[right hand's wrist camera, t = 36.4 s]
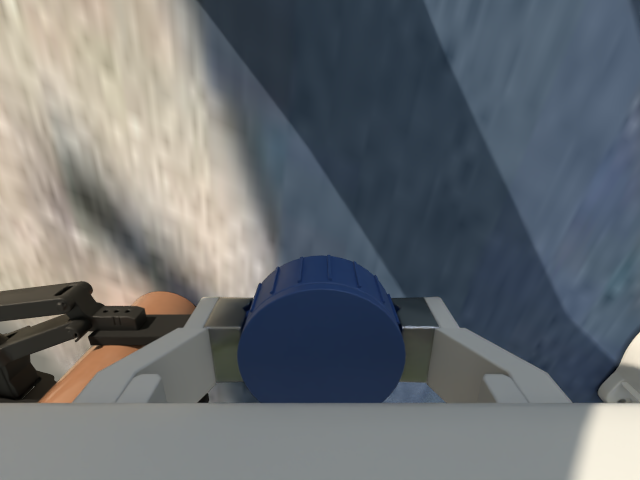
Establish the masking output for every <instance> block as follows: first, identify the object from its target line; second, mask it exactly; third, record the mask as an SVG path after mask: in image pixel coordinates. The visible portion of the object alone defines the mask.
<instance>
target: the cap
mask: <svg viewBox="0 0 640 480" xmlns="http://www.w3.org/2000/svg"><path fill="white" fill-rule="evenodd" d="M246 315H247V319H246V322H245V325H244V328H243V331H242V334H241V337H240V340H239V343H238V350H237V362H238V367H239V371H240V374H241V377H242V379H243V381H244V383H245V385H246V387H247V388H248V390H249V391H250V392H251V394H252V395H253V396H254V397H255V398H256V399H257V400H258V401H259V402H261V403H382V402H383V401H384V400H385V399H386V398H387V397H388V396H389V395H390V394H391V393H392V392H393V390H394V389H395V388H396V386H397V384H398V383H399V381H400V379H401V376H402V374H403V371H404V366H405V358H406V352H405V344H404V340H403V337H402V334H401V331H400V329H399V326H398V324H400V322H399V319H398V316H397V313H396V311H395V308H394V305H393V302H392V300H391V297H390V295H389V294H387V293H386V291H385V289H384V288H383V286H382V285H381V283H380V282H379V281H378V278H377V276H376V275H373V274H371V273H370V272H369V271H368V270H366V269H365V268H363V267H362V266H360V265H358V264H357V263H356V262H355V261H353V262H352V261H349V260H346V259H343V258H338V257H333V256H330V255H327V256H310V257H304V258H303V257H300V259H297V260H293V261H291V262H289V263H287V264H284V265H283V266H281V267H277V268H276V270H275V271H274V272H272V273H271V274H270V275H269V276H268V277H267V278H266V279H265V280H264V281H263V282H262V284H261V283H259V285H258V288H257V290H256V293H255V296H254V299H253V301H252V304H251V307H250V310H249V311H247V313H246Z"/></svg>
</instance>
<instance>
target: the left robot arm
mask: <svg viewBox="0 0 640 480" xmlns="http://www.w3.org/2000/svg"><path fill="white" fill-rule="evenodd" d="M92 292H93V289H92V287H91V285H90V284H89V283H87V282H73V283H65V284H57V285H49V286H41V287H33V288H25V289H17V290H8V291H0V321H8V320H17V319H25V318H34V317H42V316H51V315H59V314H64V315H61V316H59V317H56V318H53V319H51V320H48V321H45V322H43V323H40V324H37V325H35V326H32V327H30V326H27V327H24V328H22V329H19V330H16V331H14V332H11V333H8V334H7V333H6V334H0V403H37V402H38V401H39V400H40V399H41V398H42V397H43V396H44V395H45V394H46V393H47V392H48V391H49V390H50V389H51V388H52V387H53V386H54V385H55V384H56V383H57V382H56V381H55V380H54V376H53V375H51V374H47V373H43V372H40V371H36V370H35V368H34V367H33V366H32V364H31V362H30V354H32V353H35V352H38V351H41V350H44V349H46V348H49V347H52V346H55V345H57V344H60V343H63V342H66V341H69V340H71V339H74V338H77V337H78V338H77V339H76V340H75V342H77V341H78V340H79V339H80V338H81V337H83V336H84V335H85V334H86V333H87V332H88V331H93V332H92V333H91V334H90V335H89V336H88V338H89V341H90V344H91V345H148V344H150V343H152V342H153V341H155V340H157V339H159V338H161V337H163V336H164V335H166V334H168V333H170V332H172V331H173V330H175V329H177V328H183V327H184V326H185V324H186V323H187V321H188V319H189V318H190V316H191V314H146V312H145V308H142V307H139V306H104V305H103V304H101V303H97V302H96V301H95V300H94V299H93V297H92V296H91V294H92ZM34 386H35V387H34ZM33 387H34V388H33ZM32 388H33V389H32ZM31 389H32V390H31ZM30 390H31V391H30ZM29 391H30V392H29ZM28 392H29V393H28ZM27 393H28V394H27ZM26 394H27V395H26ZM25 395H26V396H25ZM24 396H25V397H24ZM23 397H24V398H23ZM208 401H209V396H208V393H207V394H205V395H204V396H203V397H202V398H201V399H200V400H199V401H198V402H197V403H208Z"/></svg>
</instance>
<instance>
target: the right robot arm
mask: <svg viewBox="0 0 640 480" xmlns="http://www.w3.org/2000/svg"><path fill="white" fill-rule="evenodd" d="M391 300H392V302H393V305H394V308H395V311H396V313H397V316H398V319H399V322H400V324H398V326H399V329H400V331H401V334H402V337H403V340H404V344H405V352H406V358H405V366H404V371H403V374H402V376H401V379H400V381H399V382H426V383H427V385H428V386H429V387H430V388H431V389H432V390H434V391H435V392H436V393H437V394H438V395H439V396H440V397H441V398H442V399H443V400H444V401H445V402H446V403H197V402H198V401H199V400H200V399H201V398H202V397H203V396H204V395H205V394H207V393H208V392H209V391H210V390H211V389H212V388H213V387H214V386H215V385H216V383H217V382H244V381H243V379H242V377H241V374H240V371H239V367H238V362H237V350H238V343H239V340H240V337H241V334H242V331H243V328H244V325H245V322H246V319H247V315H246V313H247V311H249V310H250V307H251V304H252V301H253V298H240V297H204V298H202V299H201V300H200V302H199V303H198V305H197V306H196V308H195V310H194V311H193V313H192V314H191V316H190V318H189V319H188V321H187V323H186V324H185V326H184V327H183V328H177V329H175V330H173V331H172V332H170V333H168V334H166V335H164V336H163V337H161V338H159V339H157V340H155V341H153V342H152V343H150V344H148V345H146V346H144V347H142V348H141V349H139V350H137V351H135V352H133V353H132V354H130V355H128V356H126V357H124V358H122V359H121V360H119V361H117V362H115V363H113V364H112V365H110V366H108V367H106V368H104V369H102V370H101V371H99V372H97V373H96V374H95V376H94V377H93V378H92V379H91V380H90V382H89V383H88V384H87V385H86V386H85V387H84V389H83V390H82V391H81V392H80V393H79V395H78V396H77V397H76V398H75V399H74V401H73V402H72V403H0V480H640V333H639V334H638V335H637V336H636V337H635V338H634V339H633V341H632V342H631V344H630V345H629V346H628V348H627V350H626V352H625V353H624V356H623V358H622V360H621V362H620V364H619V366H618V368H617V369H616V371H615V372H614V373H613V374H612V375H611V376H610V377H609V378H608V379H607V380H606V381H605V382H604V383H603V384H602V385H601V386H600V388H599V390H598V395H599V397H600V398H601V399H602V401H603V402H604V403H572V401H571V400H570V399H569V398H568V397H567V396H566V394H565V393H564V392H563V391H562V390H561V388H560V387H559V386H558V385H557V384H556V383H555V381H554V380H553V379H552V378H551V377H550V375H549V374H548V373H547V372H545V371H543V370H541V369H539V368H537V367H536V366H534V365H532V364H530V363H528V362H526V361H525V360H523V359H521V358H519V357H517V356H515V355H514V354H512V353H510V352H508V351H506V350H504V349H503V348H501V347H499V346H497V345H495V344H494V343H492V342H490V341H488V340H486V339H484V338H483V337H481V336H479V335H477V334H475V333H473V332H472V331H470V330H468V329H466V328H460V327H459V326H458V324H457V323H456V321H455V319H454V318H453V316H452V315H451V313H450V312H449V310H448V309H447V307H446V305H445V304H444V302H443V301H442V299H441V298H440V297H416V298H391Z"/></svg>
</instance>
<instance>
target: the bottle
mask: <svg viewBox="0 0 640 480" xmlns="http://www.w3.org/2000/svg"><path fill="white" fill-rule="evenodd" d="M131 306H139V307H142V308H145V312H146V314H192V313H193V311H194V310H195V308H196V307H195V306H194V305H193V304H192V303H191V302H190V301H189V300H187V299H185V298H184V297H182V296H180V295H177V294H174V293H170V292H160V291H159V292H152V293H148V294H145V295H143V296H141V297H140V298H138V299H137V300H136V301H135V302H134V303H133V304H132V305H131ZM144 346H146V345H92V346H91V347H90V348H89V350H88V351H87V352H86V353H85V354H84V355H83V356H82V357H81V358H80V359H79V360H78V361H77V362H76V363H75V364H74V365H73V366H72V367H71V368H70V369H69V370H68V371H67V372H66V373H65V374H64V375H63V376H62V377H61V378H60V379H59V381H58V382H57V383H56V384H55V385H54V386H53V387H52V388H51V389H50V390H49V391H48V392H47V393H46V394H45V395H44V396H43V397H42V398H41V399H40V400H39V401H38V402H37V403H72V402H73V401H74V399H75V398H76V397H77V396H78V395H79V393H80V392H81V391H82V390H83V389H84V387H85V386H86V385H87V384H88V383H89V382H90V380H91V379H92V378H93V377H94V376H95V374H96V373H97V372H99V371H101V370H102V369H104V368H106V367H108V366H110V365H112V364H113V363H115V362H117V361H119V360H121V359H122V358H124V357H126V356H128V355H130V354H132V353H133V352H135V351H137V350H139V349H141V348H142V347H144Z"/></svg>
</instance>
